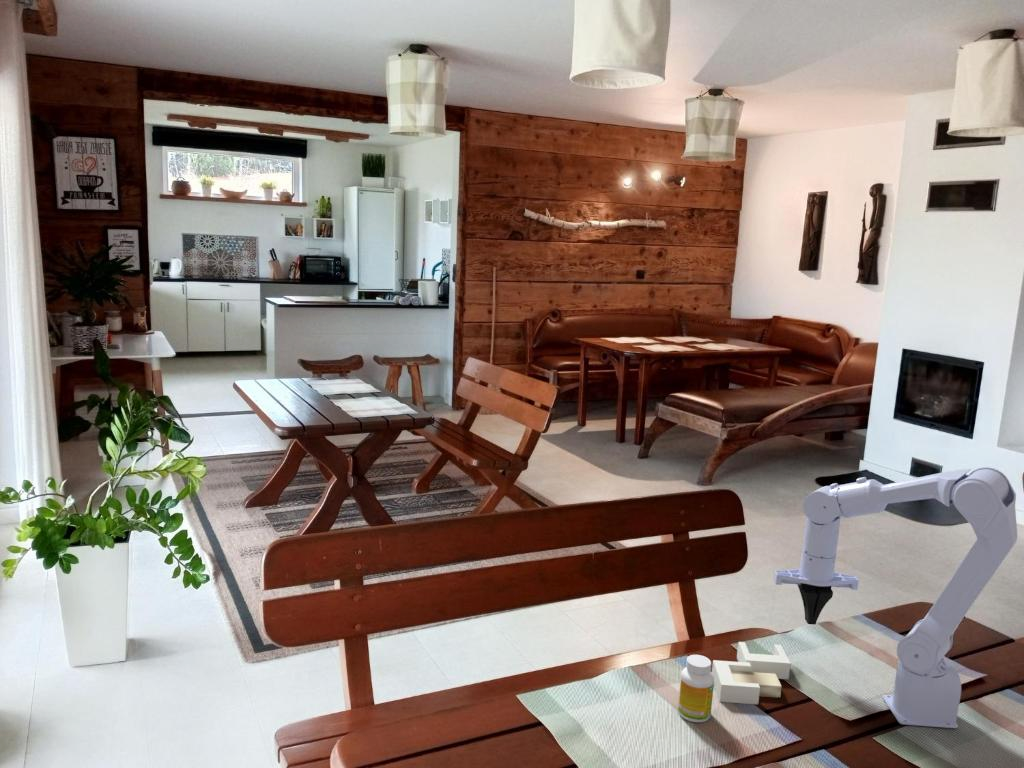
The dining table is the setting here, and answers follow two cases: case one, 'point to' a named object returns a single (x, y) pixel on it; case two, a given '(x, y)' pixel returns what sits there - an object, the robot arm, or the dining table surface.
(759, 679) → the beige rectangular block
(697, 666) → the supplement bottle
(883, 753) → the dining table surface
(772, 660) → the white u-shaped block
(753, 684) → the end cap
